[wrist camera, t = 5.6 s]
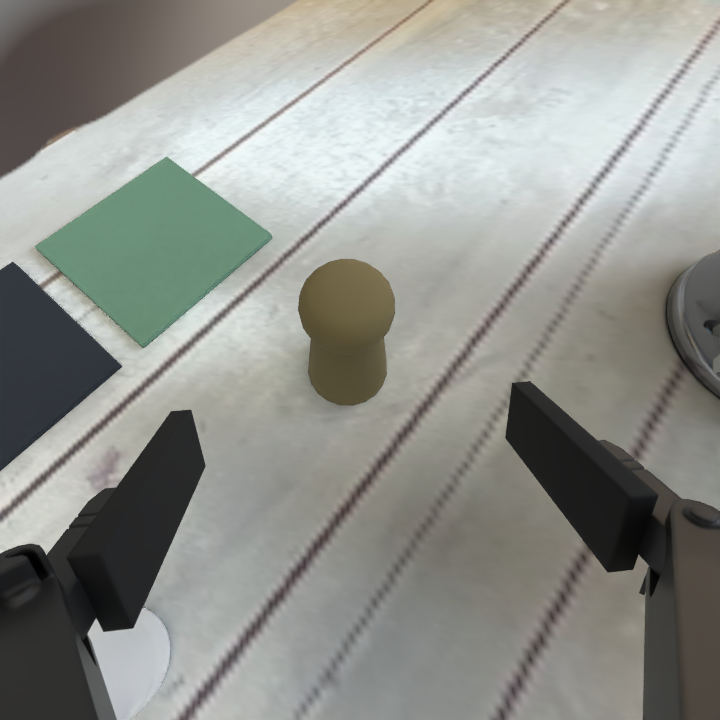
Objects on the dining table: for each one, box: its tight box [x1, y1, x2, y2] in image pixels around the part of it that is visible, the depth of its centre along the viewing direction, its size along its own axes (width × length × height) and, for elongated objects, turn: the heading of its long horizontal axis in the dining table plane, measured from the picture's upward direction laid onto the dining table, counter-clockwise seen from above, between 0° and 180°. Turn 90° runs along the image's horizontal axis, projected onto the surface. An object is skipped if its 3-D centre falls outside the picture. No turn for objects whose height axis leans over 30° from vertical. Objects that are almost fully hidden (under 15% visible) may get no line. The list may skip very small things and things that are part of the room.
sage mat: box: [35, 157, 272, 348], centre depth 33 cm, size 14×14×1 cm
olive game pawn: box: [298, 259, 395, 405], centre depth 24 cm, size 6×6×11 cm
